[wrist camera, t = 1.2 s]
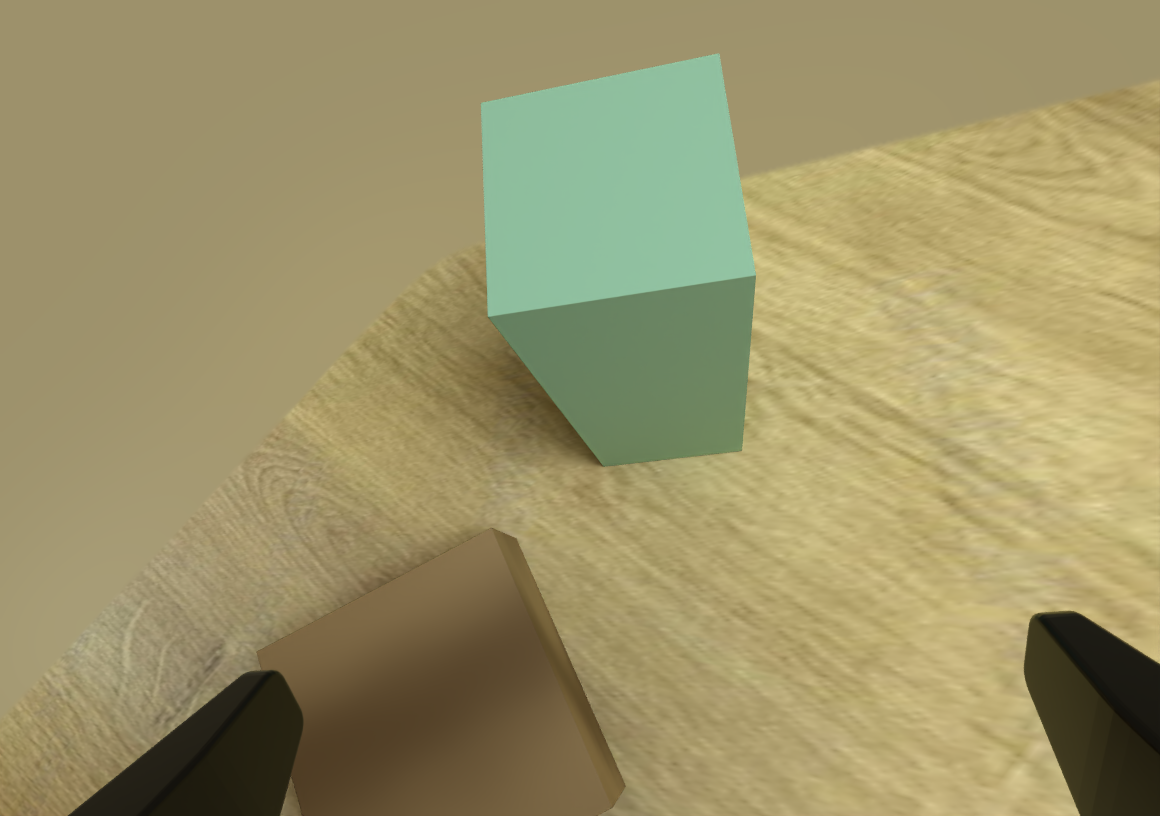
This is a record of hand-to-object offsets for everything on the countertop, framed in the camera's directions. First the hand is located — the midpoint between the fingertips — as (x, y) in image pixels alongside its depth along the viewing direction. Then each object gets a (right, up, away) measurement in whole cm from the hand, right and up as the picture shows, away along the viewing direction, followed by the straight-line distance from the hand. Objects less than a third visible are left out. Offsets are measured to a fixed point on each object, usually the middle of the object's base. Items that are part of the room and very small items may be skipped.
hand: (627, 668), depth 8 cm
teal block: (+2, +4, +15) cm, 16 cm away
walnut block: (-4, -7, +14) cm, 16 cm away
